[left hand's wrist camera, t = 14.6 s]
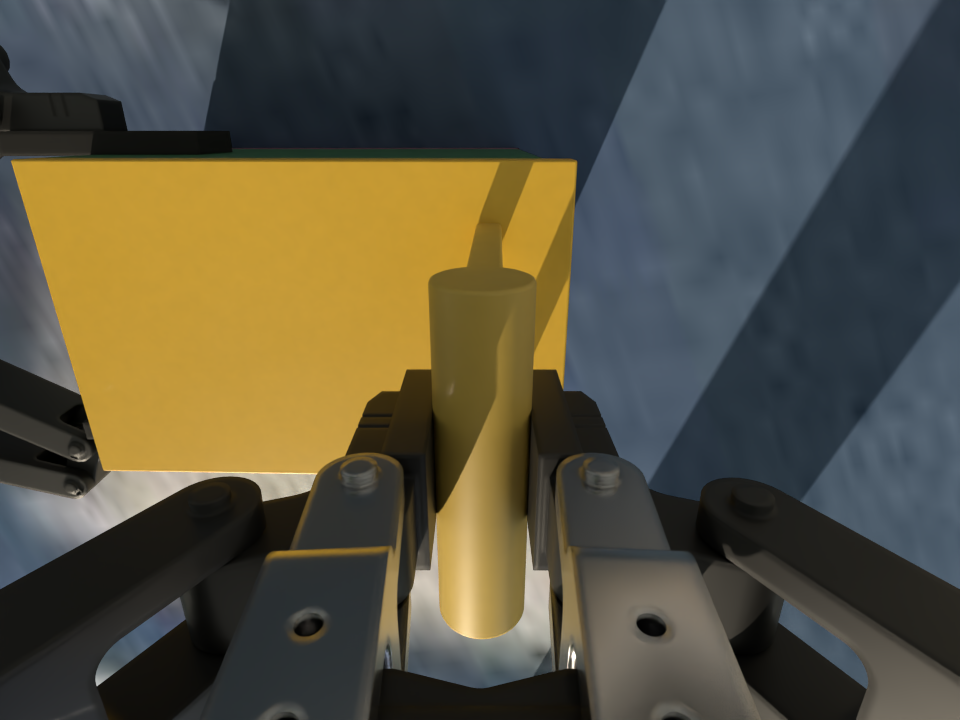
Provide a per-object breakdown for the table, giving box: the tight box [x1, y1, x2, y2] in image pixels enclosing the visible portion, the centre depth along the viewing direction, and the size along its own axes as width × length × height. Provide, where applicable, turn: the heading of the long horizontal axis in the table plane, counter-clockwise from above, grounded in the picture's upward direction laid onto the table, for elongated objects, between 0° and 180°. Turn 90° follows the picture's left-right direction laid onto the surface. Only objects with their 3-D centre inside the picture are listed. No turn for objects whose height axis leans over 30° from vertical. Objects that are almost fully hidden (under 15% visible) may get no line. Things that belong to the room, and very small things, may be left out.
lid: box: [11, 158, 577, 639], centre depth 14 cm, size 15×10×9 cm, turn 90°
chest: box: [48, 148, 542, 159], centre depth 23 cm, size 15×10×10 cm
